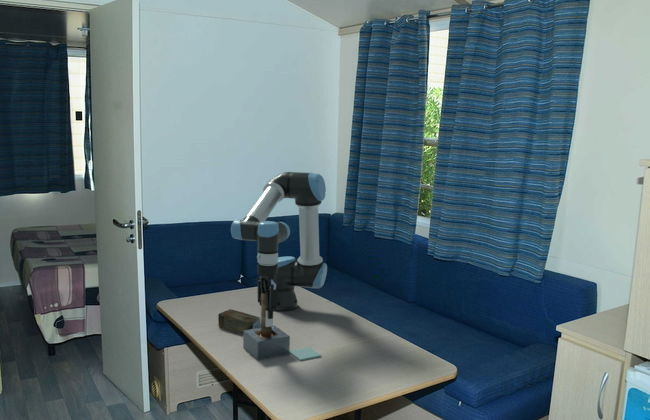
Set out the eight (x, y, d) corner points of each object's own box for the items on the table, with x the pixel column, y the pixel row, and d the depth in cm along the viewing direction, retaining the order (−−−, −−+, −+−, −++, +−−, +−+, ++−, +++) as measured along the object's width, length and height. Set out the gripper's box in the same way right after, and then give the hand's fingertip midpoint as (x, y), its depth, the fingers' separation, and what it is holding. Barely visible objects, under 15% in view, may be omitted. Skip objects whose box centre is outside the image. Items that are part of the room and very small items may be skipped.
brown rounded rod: (268, 332, 227) (269, 291, 225) (273, 335, 224) (274, 294, 222) (259, 333, 225) (259, 292, 223) (263, 337, 222) (264, 295, 220)
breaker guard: (274, 342, 234) (274, 325, 233) (289, 354, 223) (289, 336, 222) (243, 348, 228) (243, 330, 227) (257, 360, 217) (257, 341, 216)
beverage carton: (252, 337, 240) (252, 321, 239) (217, 327, 250) (217, 312, 249) (265, 332, 247) (265, 316, 246) (230, 322, 257) (230, 307, 256)
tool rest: (309, 348, 230) (309, 347, 229) (321, 356, 222) (321, 355, 222) (288, 352, 225) (288, 350, 225) (300, 361, 217) (300, 359, 217)
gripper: (248, 259, 226) (248, 319, 229) (268, 269, 212) (267, 333, 215) (266, 257, 230) (265, 316, 233) (287, 267, 215) (285, 329, 219)
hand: (266, 324), depth 224 cm, fingers closed on brown rounded rod, 4 cm apart
